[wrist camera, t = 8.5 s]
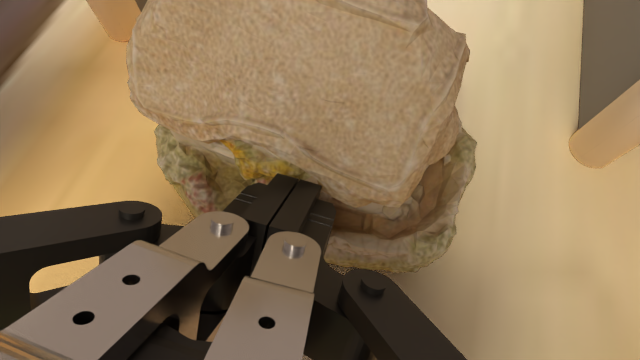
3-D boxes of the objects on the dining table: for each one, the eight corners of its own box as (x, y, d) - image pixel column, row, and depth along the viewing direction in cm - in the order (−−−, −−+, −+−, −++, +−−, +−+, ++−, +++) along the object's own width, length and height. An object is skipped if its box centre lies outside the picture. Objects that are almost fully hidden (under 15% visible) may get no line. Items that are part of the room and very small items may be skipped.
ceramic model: (108, 185, 17) (-114, -2, 8) (234, 11, 22) (180, -241, 12) (413, 326, 16) (568, 287, 6) (487, 105, 20) (644, -111, 11)
